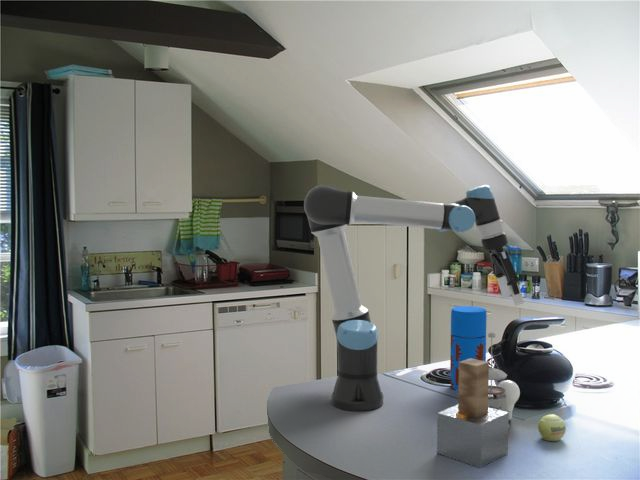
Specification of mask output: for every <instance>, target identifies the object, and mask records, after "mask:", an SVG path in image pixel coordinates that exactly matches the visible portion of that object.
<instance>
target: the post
mask: <svg viewBox="0 0 640 480" xmlns="http://www.w3.org/2000/svg"><path fill="white" fill-rule="evenodd" d="M489 365H490V362H489V361H487V360H486V361H482V360H477V359H472V358H470V359H467V360H464V361H461V362H459V391H458V395H457V396H458V402H457V403H458V404H457V405H458V412H460V411H462V412H466V413H468V416H470V417H474V418H479V417H481V416H483V415H486V414H488V406H489V405H488V397H489V395H488V386H489V368H490V366H489Z"/></svg>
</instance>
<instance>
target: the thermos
mask: <svg viewBox="0 0 640 480" xmlns="http://www.w3.org/2000/svg"><path fill="white" fill-rule="evenodd" d="M450 311H451V312H450V364H449V365H450V366H449V368H450V369H449V370H450V371H449V374H450V375H449V377H450V389H452V390H453V391H456V392H459V362H461V361H464V360H467V359H470V358H472V359H477V360H482V361H487V357H486V356H487V316H488V315H487V309H486V308H484V307H481V306H471V305H462V306H460V305H458V306H454V307H451V310H450Z"/></svg>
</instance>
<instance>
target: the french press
mask: <svg viewBox="0 0 640 480" xmlns="http://www.w3.org/2000/svg"><path fill="white" fill-rule="evenodd" d="M487 337H488V338H490V339H491V340H490V341H491V343H490V344H491V346H490V347H491V349H490V350H491V351H490V353H491V354H490V355H491V356H490V357H491V358H490V360H491V361H490V367H489V380H490V385H488V407H489V408H493V409H497V410H501V411H505V412H506V395H505V398H503V399H498V398H497V395H498V394H502V393H504V392H505V389H503V388H502V387H499V386H497V385H493V383H492V382H493V381H504V380H505V379H507V376H508V374H507V373H506V372H504V371H503V370H501V369H498V368H496V367H495V368H494V367H493V338H496V334H495V333H494V332H489V333H488V334H487ZM489 380H488V381H489ZM490 395H491V396H490ZM494 396H496V397H494ZM510 426H511V425H510V424H509V426H508V429H510Z"/></svg>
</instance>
